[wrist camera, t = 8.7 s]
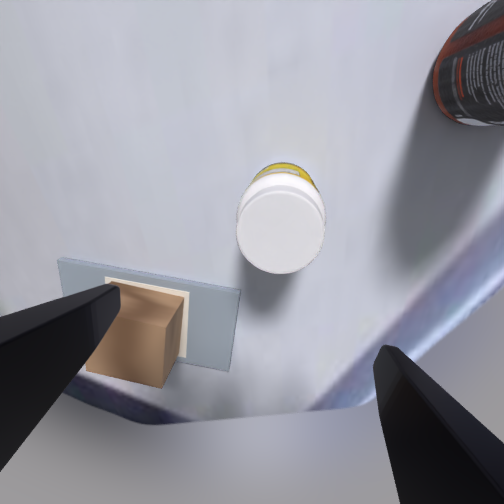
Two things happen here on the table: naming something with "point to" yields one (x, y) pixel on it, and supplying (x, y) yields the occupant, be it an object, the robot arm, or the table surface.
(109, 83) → the table surface
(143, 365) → the block
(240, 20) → the table surface
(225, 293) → the board
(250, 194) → the supplement bottle
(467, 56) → the supplement bottle
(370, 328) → the table surface
